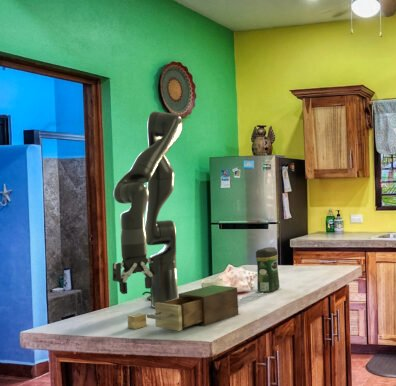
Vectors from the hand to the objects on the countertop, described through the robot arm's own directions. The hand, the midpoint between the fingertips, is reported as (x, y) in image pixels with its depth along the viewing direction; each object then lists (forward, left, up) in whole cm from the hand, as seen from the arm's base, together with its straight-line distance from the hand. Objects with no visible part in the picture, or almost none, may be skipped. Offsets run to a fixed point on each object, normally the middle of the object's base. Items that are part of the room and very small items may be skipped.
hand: (136, 290), depth 161 cm
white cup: (+3, +29, -12) cm, 31 cm away
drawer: (+15, +5, -11) cm, 19 cm away
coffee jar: (+4, +58, -12) cm, 59 cm away
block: (0, 0, -12) cm, 12 cm away
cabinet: (+15, +17, -12) cm, 25 cm away
